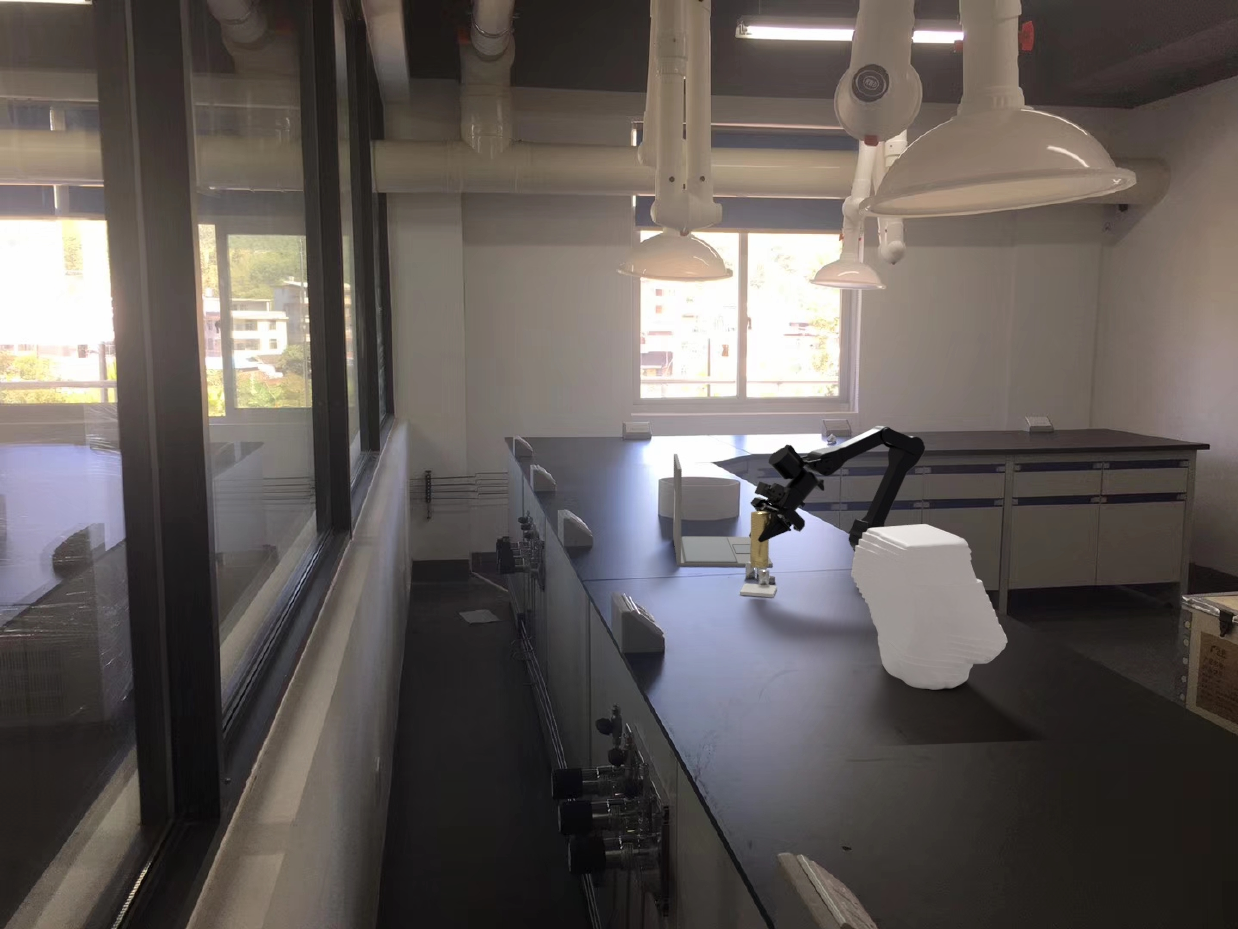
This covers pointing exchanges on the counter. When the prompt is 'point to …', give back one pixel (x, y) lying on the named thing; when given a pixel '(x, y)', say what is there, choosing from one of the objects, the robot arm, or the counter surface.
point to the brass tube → (758, 549)
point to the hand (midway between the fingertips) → (754, 539)
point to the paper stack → (926, 604)
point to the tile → (758, 590)
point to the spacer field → (759, 574)
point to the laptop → (705, 540)
